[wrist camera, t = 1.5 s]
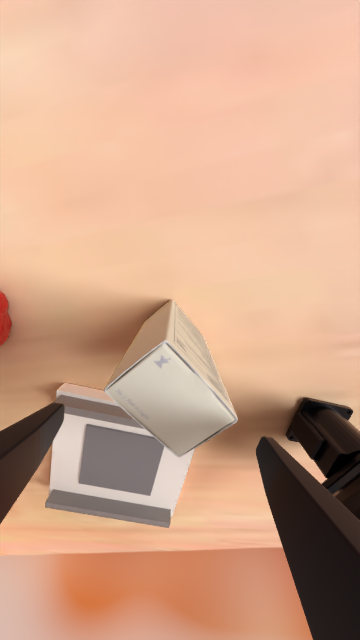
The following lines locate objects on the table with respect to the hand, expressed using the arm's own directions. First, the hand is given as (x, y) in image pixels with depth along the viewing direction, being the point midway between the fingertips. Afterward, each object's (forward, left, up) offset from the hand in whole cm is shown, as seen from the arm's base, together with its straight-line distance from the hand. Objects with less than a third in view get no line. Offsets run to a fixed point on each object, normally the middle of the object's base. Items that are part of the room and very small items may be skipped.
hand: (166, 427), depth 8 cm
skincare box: (0, 0, -14) cm, 14 cm away
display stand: (+3, +19, -13) cm, 23 cm away
